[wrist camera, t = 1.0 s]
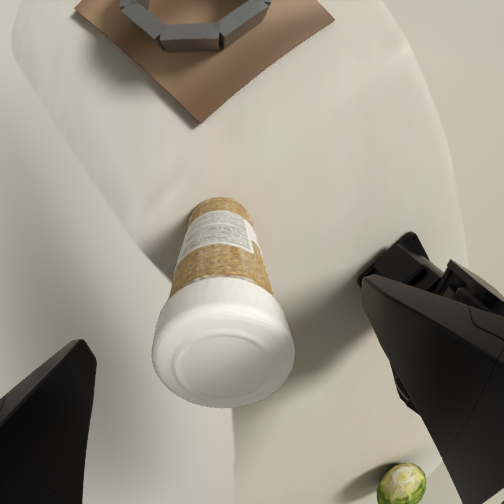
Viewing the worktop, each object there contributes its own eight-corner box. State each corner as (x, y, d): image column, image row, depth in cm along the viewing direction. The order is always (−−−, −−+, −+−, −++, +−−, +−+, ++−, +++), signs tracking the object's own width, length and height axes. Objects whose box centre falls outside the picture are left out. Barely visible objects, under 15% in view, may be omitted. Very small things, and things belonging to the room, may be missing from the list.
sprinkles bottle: (245, 260, 22) (277, 415, 10) (183, 251, 21) (150, 405, 9) (258, 200, 20) (317, 318, 8) (192, 189, 20) (148, 299, 7)
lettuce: (419, 440, 41) (441, 483, 31) (414, 468, 50) (429, 501, 39) (365, 467, 42) (382, 512, 32) (372, 488, 50) (384, 522, 40)
